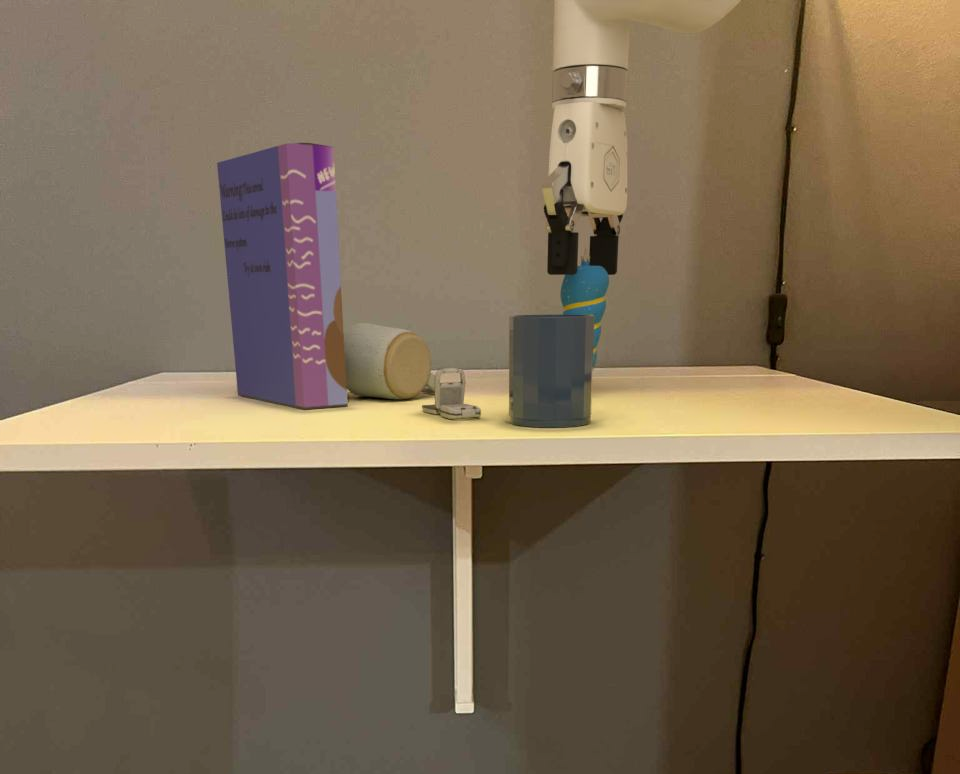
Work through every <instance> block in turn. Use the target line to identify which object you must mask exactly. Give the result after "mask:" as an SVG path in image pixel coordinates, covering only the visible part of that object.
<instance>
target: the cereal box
mask: <svg viewBox="0 0 960 774" xmlns="http://www.w3.org/2000/svg"><path fill="white" fill-rule="evenodd" d="M216 166H217V167H216V169H217V179H218V188H219V190H218V191H219V198H220V199H219V200H220V201H219V202H220V210H221V211H220V213H221V222H222V232H223V233H222V234H223V244H224V245H223V246H224V255H225V266H226V277H227V279H226V280H227V289H228V299H229V300H228V301H229V311H230V322H231V332H232V342H233V343H232V344H233V355H234V366H235V377H236V388H237V396H240V397H243V398H248V399H253V400H258V401H263V402H267V403H271V404H277V405H281V406H286V407H291V408H295V409H297V410H302V411H303V410H304V411H305V410H306V411H307V410H318V409H331V408H344V407H348V393H347V392H348V390H347V389H346V370H345V351H344V333H345V331H344V316H343V314H344V313H343V298H342V281H341V278H342V277H341V261H340V260H341V259H340V243H339V242H340V241H339V224H338V223H339V222H338V202H337V201H338V200H337V186H336V185H337V184H336V183H337V182H336V169H335V168H336V167H335V149H334V146H331V145H326V144H319V143H313V142H294V143H293V142H292V143H290V142H289V143H282V144H280V145H279V144H278V145H276V146H271V147H268V148H265V149H261V150H258V151H254V152H251V153H247V154H244V155H240V156H236V157H233V158H230V159H225V160H222V161H218V162H216Z"/></svg>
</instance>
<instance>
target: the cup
mask: <svg viewBox="0 0 960 774" xmlns="http://www.w3.org/2000/svg"><path fill="white" fill-rule="evenodd" d="M593 342H594V315H576V314H563V313H561V314H558V313H557V314H556V313H555V314H554V313H553V314H545V313H544V314H514V315H513V314H512V315H509V316H508V361H509V362H508V417H509V423H510V424H511V425H515V426H518V427H519V426H520V427H527V428H528V427H529V428H546V429H547V428H548V429H549V428H553V429H554V428H555V429H556V428H572V427H581V426H586V425H589V424H590V423H591V422H592V409H593V408H592V406H593V405H592V404H593V403H592V401H593V375H594V374H593V373H594V372H593V371H594V369H593Z"/></svg>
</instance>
